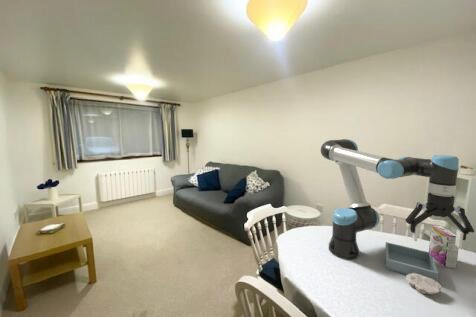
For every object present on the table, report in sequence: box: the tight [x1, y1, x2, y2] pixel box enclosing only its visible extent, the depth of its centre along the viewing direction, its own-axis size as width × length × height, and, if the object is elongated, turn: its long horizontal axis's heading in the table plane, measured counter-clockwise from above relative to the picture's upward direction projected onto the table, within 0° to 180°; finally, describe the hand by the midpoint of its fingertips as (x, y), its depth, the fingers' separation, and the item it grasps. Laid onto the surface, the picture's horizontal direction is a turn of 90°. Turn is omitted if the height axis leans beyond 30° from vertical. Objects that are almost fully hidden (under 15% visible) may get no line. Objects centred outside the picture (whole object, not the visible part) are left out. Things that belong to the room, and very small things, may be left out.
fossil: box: [405, 273, 442, 295], centre depth 83 cm, size 9×6×10 cm
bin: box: [384, 242, 440, 283], centre depth 98 cm, size 18×18×5 cm
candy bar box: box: [428, 224, 459, 269], centre depth 99 cm, size 11×5×16 cm, turn 168°
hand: (435, 243), depth 82 cm, fingers open, 13 cm apart
